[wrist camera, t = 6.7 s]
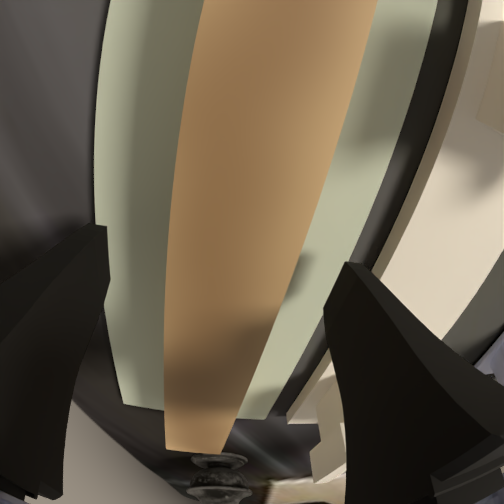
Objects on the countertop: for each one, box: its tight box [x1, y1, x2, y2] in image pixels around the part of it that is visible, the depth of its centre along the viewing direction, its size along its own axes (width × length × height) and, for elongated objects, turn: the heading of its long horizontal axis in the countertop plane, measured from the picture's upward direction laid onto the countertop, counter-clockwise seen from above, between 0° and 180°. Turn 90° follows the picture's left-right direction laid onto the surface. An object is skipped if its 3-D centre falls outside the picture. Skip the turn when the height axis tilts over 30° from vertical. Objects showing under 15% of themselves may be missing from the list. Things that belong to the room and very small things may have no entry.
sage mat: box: [94, 0, 438, 419], centre depth 11 cm, size 9×26×1 cm, turn 168°
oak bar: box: [164, 0, 378, 455], centre depth 10 cm, size 3×24×3 cm, turn 168°
